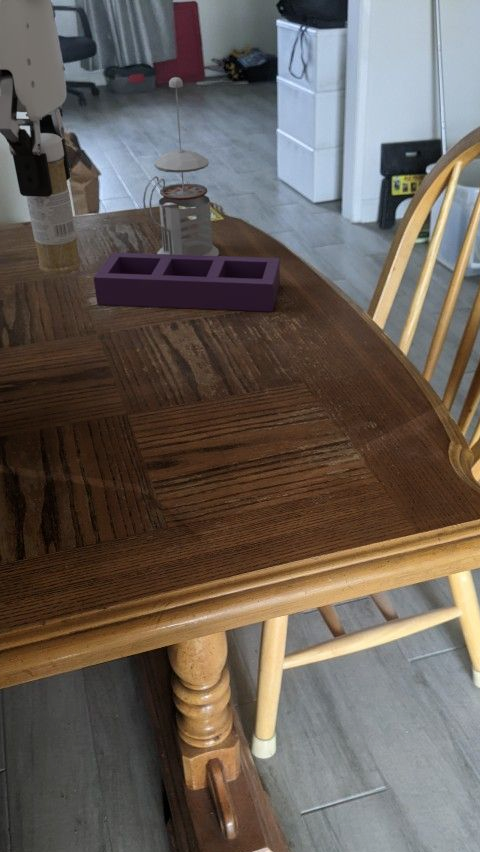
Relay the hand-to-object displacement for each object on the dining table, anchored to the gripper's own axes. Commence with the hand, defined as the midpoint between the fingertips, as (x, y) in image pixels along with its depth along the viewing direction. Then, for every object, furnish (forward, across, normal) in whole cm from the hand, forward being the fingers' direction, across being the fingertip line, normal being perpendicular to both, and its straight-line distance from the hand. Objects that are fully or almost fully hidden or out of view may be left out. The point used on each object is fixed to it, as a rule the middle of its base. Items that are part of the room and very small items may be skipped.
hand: (46, 185), depth 80 cm
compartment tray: (+21, -23, +9) cm, 33 cm away
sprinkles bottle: (+9, 0, 0) cm, 9 cm away
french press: (+22, -38, +5) cm, 44 cm away
